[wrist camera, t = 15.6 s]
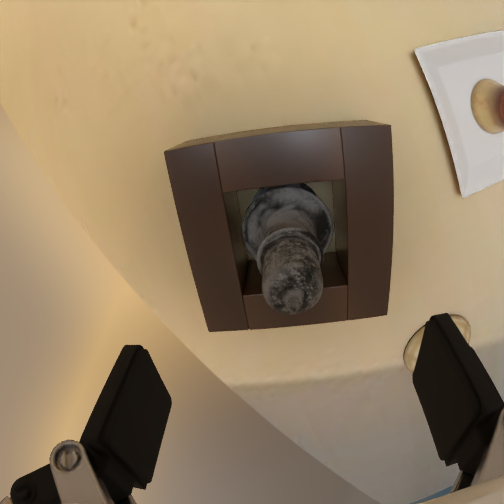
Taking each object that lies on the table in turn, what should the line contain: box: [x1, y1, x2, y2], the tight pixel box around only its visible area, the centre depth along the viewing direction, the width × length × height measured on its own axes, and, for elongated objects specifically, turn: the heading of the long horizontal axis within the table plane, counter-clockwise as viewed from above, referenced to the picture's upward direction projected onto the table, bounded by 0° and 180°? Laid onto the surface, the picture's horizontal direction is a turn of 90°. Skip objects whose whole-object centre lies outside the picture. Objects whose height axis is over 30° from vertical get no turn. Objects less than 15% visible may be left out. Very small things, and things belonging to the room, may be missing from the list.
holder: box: [164, 120, 394, 332], centre depth 21 cm, size 13×13×5 cm
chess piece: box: [242, 183, 333, 315], centre depth 18 cm, size 6×6×12 cm
